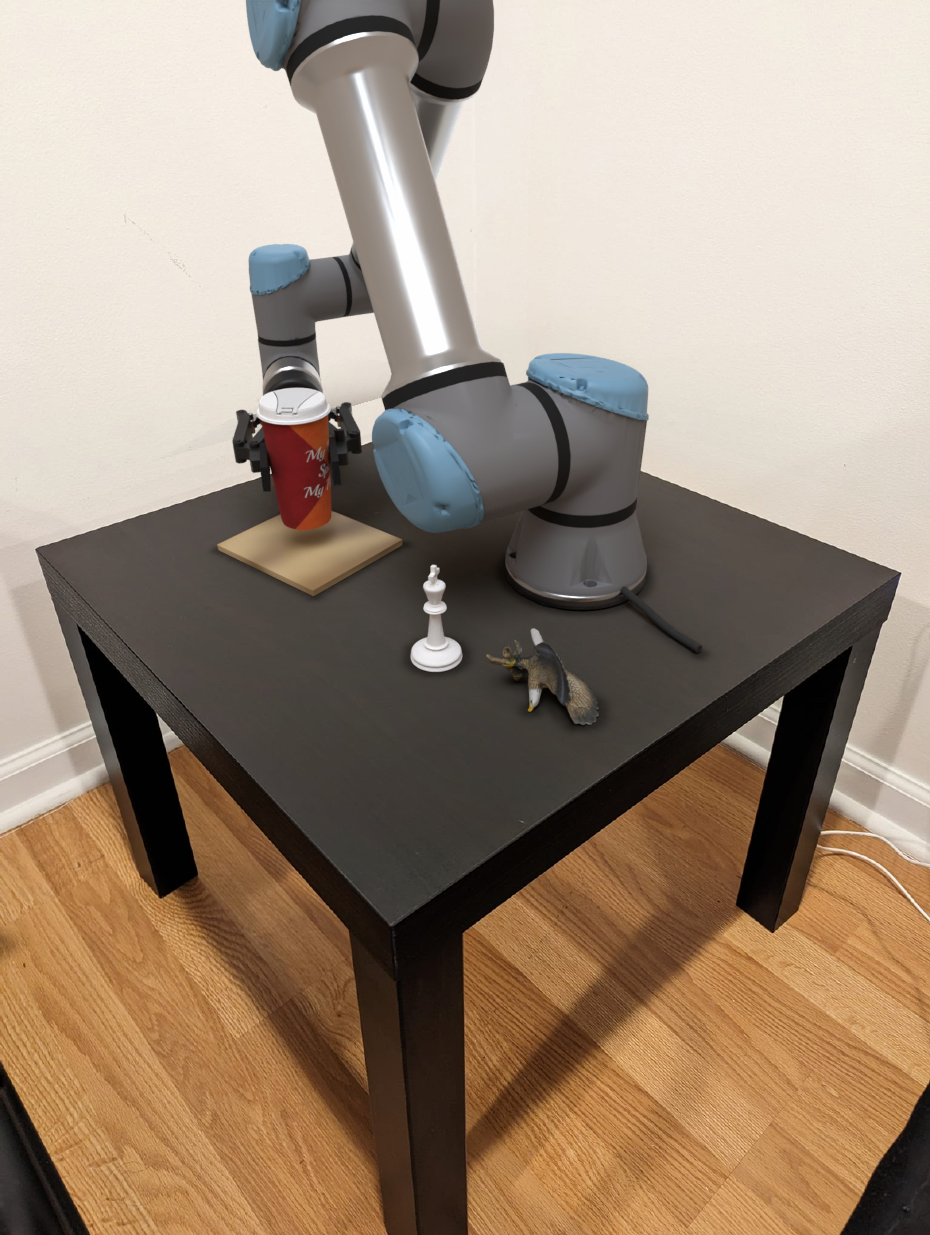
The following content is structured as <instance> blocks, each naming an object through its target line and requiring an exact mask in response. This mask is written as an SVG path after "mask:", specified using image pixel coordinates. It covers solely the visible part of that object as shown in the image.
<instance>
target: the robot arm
mask: <svg viewBox="0 0 930 1235" xmlns="http://www.w3.org/2000/svg"><path fill="white" fill-rule="evenodd" d="M494 6H495V5H494V0H245V9H246V18H247V20H246V21H247V27H248V33H249V37H250V42H251V46H252V50H253V53H254V55H255V57H256V59H257V60H258V61H259V62H260V64H261V65H262V66H263V67H264V68H266V69H271V71H273V72H279V71H281V69H283V70H284V71H285V74H286V77H287V80H288V83H289V87H290V90H291V94H292V96H293V99H294V100H295V101H296V103H297V104H298V105H299V106H300V107H302V108H304V109H306V110H308V111H309V112H312V113H314V114H315V115H316V118H317V122H318V125H319V128H320V133H321V135H322V139H323V142H324V146H325V149H326V154H327V156H328V159H329V163H330V167H331V170H332V173H333V177H334V181H335V184H336V187H337V191H338V194H339V197H340V200H341V204H342V207H343V211H344V214H345V218H346V221H347V225H348V229H349V231H350V235H351V239H352V243H351V247H350V251H349V254H344V255H343V254H342V255H336V256H328V257H320V258H313V259H310V257H309V254H308V251H307V248H305V247H303V246H302V245H299V244H294V243H283V244H282V243H280V244H279V243H274V244H265V245H261V246H257V247H256V248H254V249H253V250H252V251H251V252H250V254H249V256H248V276H249V292H250V294H251V301H252V307H253V313H254V320H255V325H256V332H257V346H258V352H259V358H260V366H261V374H262V375H261V376H262V396H264V395H265V394H267V393H269V392H273V391H276V390H280V389H286V388H309V389H313V390H317V391H320V392H322V393H323V394H324V388H323V383H322V380H321V374H320V373H321V372H320V362H319V354H318V343H317V331H316V323H317V322H322V321H330V320H336V319H341V318H348V317H355V316H361V315H368V314H373V315H374V318H375V321H376V325H377V329H378V332H379V335H380V340H381V342H382V345H383V348H384V352H385V356H386V360H387V363H388V367H389V369H390V378H389V380H388V381H387V382H388V383H387V384H386V386H385V388H384V389H383V392H382V394H381V396H380V398H381V401H382V404H383V408H384V411H383V412H382V413H381V414H380V415H379V416H378V417H377V418H376V419H375V420H374V423H373V426H372V430H371V442H372V445H373V447H374V448H373V450H372V453H373V457H374V462H375V466H376V470H377V472H378V474H379V477H380V480H381V483H382V484H383V487H384V489H385V491H386V492H387V495H388V496H389V499H390V500H391V502H392V503H393V504H394V506H395V507H396V509H397V510H398V511H399V513H400V514H401V515H402V516H403V517H405V518H406V520H407V521H408V522H409V523H410V524H412V525H413V526H415V527H416V528H418V529H420V530H422V531H424V532H427V533H431V534H440V533H441V534H442V533H447V532H450V531H454V530H455V531H456V530H460V529H470V528H474V527H475V528H476V527H477V526H478V525H480V524H483V523H485V522H489V521H492V520H496V519H498V518H503V517H507V516H510V515H513V514H517V513H520V512H521V513H520V514H519V517H518V520H517V522H516V525H515V528H514V530H513V533H512V535H511V538H510V540H509V543H508V545H507V549H506V552H505V557H504V558H505V559H504V560H505V561H504V573H505V577H506V580H507V581H508V583H509V584H510V585H511V587H512V588H513V589H514V590H515V591H516V592H518V593H519V594H521V595H522V596H524V597H526V598H528V599H529V600H530V601H534V602H536V603H538V604H541V605H545V606H549V607H553V608H557V609H564V610H573V611H574V610H575V611H577V610H578V611H584V610H585V611H587V610H590V611H591V610H599V609H600V610H601V609H605V608H609V607H614V606H617V605H619V604H622V603H625V602H626V601H629V602H630V603H631V604H633V605H634V606H635V607H636V608H637V609H638V610H640V611H641V612H642V613H643V614H644V615H645V616H646V617H647V618H649V619H650V620H651V621H652V622H653V623H654V624H655V625H656V626H657V627H658V628H659V629H661V630H662V631H663V632H665V633H666V634H667V635H669V636H670V637H671V638H673V639H674V640H676V641H678V642H679V643H681V644H682V645H684V646H685V647H687V648H689V649H691V650H692V651H693V652H695V653H697V654H699V653H700V652H701V651H702V649H703V645H702V644H700V643H698V642H697V641H695V640H694V639H692V638H690V637H689V636H688V635H685V634H684V633H682V632H680V631H679V630H678V629H676V628H675V627H674V626H672V625H671V624H670V623H668V622H667V621H666V620H665V619H663V618H662V617H661V616H660V615H659V614H658V613H657V612H656V611H655V610H654V609H653V608H651V607H650V606H649V605H648V604H647V603H646V602H645V601H643V600H642V599H641V598H640V597H638V595H637V594H639V592H640V591H641V590H642V589H643V587H644V586H645V583H646V578H647V570H648V561H647V560H648V559H647V554H646V550H645V547H644V542H643V538H642V533H641V528H640V525H639V519H638V516H637V505H638V495H639V486H640V480H641V472H642V471H641V470H642V463H643V455H644V448H645V442H646V441H645V440H646V434H647V433H646V432H647V425H648V421H649V418H650V414H648V404H649V385H648V381H647V380H646V378H645V376H644V375H643V374H642V373H641V372H640V371H638V370H637V369H635V368H634V367H631V366H630V365H628V364H625V363H622V362H620V361H617V360H613V359H610V358H606V357H601V356H597V355H590V354H583V353H573V352H572V353H570V352H553V353H544V354H540V355H537V356H535V357H534V358H532V359H531V361H530V362H529V363H528V368H527V369H526V371H525V375H526V376H527V380H526V381H525V382H520V383H515V384H510V381H509V378H508V374H507V371H506V367H505V363H504V360H503V359H502V358H500V357H498V356H497V355H495V354H493V353H491V352H489V351H487V350H486V349H485V348H484V347H483V346H482V342H481V338H480V335H479V332H478V331H479V330H478V328H477V325H476V320H475V317H474V314H473V310H472V307H471V304H470V300H469V296H468V292H467V288H466V286H465V285H466V284H465V282H464V278H463V275H462V274H463V273H462V271H461V266H460V264H459V260H458V257H457V256H458V255H457V253H456V249H455V246H454V242H453V238H452V235H451V231H450V228H449V224H448V221H447V217H446V213H445V210H444V207H443V203H442V199H441V194H440V192H439V188H438V185H437V183H438V180H439V176H440V174H441V170H442V168H443V165H444V162H445V159H446V156H447V153H448V150H449V148H450V144H451V142H452V139H453V136H454V133H455V131H456V127H457V124H458V122H459V119H460V115H461V113H462V111H463V107H464V104H465V102H466V101H467V100H471V99H472V98H473V97H475V96H476V95H477V94H478V92H479V90H480V88H481V86H482V83H483V80H484V78H485V75H486V72H487V69H488V65H489V62H490V58H491V54H492V51H493V50H492V49H493V43H494V34H495V7H494ZM352 406H353V405H352V402H349V401H344V402H342V403H341V404H340V406H339V405H337V406H336V407H335V408H331V410H330V412H329V414H328V426H329V453H330V471H331V476H332V481H333V486H341V485H342V479H341V477H342V476H341V469H340V467H342V466H348V465H349V463H350V462H349V453H351V454H353V455H360V454H362V452H363V449H362V436H361V434H362V433H361V430H360V428H359V426H358V424H357V422H356V420H355V418H354V416H353V407H352ZM235 416H236V421H237V424H236V428H235V430H234V434H233V437H232V440H231V442H232V448H233V454H234V460H235V463H236V464H245V463H246V462H247V461H249V465H250V471H251V472H252V473H253V474H256V473H260V478H261V486H262V491H263V492H264V493H265V492H271V491H272V484H271V482H272V481H271V468H270V463H269V458H268V453H267V448H266V444H265V439H264V434H263V429H262V424H261V419H259V418H258V417H257V414H256V413H253V412H248V411H247V410H246V409H238V410H236V411H235ZM331 420H333V421H334V422H335V423H336V424H337V427H336V425H335V424H333V423H331ZM259 425H260V426H261V428H259V430H258V431H256V429H257V428H258V426H259ZM253 435H254V436H253Z"/></svg>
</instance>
